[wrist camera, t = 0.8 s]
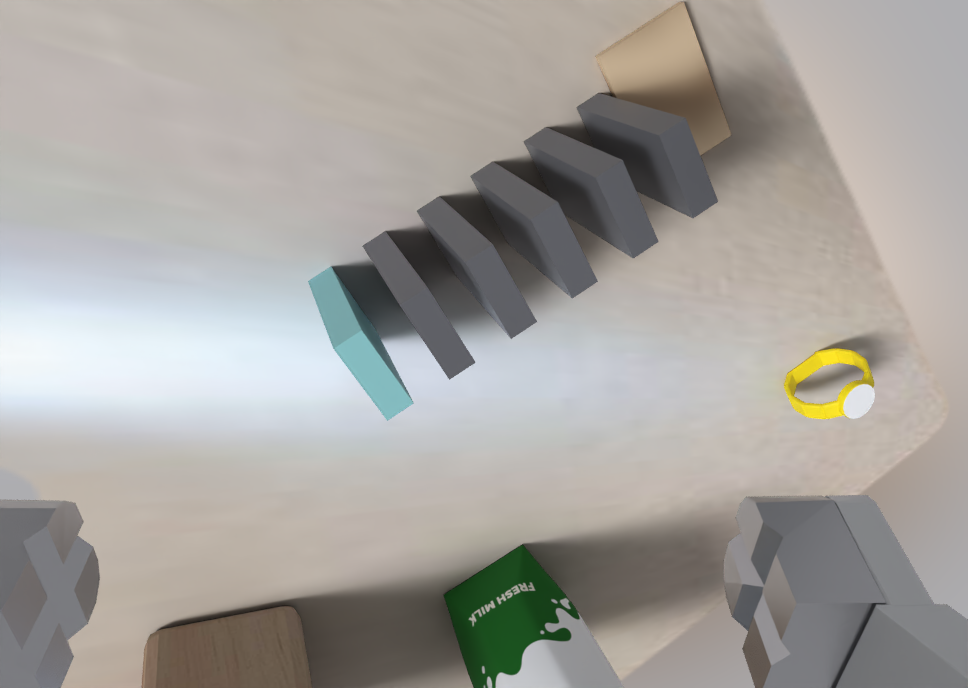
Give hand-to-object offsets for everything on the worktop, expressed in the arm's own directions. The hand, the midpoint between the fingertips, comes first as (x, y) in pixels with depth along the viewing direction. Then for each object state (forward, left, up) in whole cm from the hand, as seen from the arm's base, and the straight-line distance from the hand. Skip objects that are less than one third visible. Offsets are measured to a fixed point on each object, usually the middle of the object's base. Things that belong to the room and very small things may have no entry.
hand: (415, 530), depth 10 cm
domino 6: (+12, +17, -38) cm, 43 cm away
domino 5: (+12, +13, -38) cm, 42 cm away
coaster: (+12, +21, -38) cm, 45 cm away
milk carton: (+39, -5, -38) cm, 55 cm away
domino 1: (+12, -2, -38) cm, 40 cm away
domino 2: (+12, +2, -38) cm, 40 cm away
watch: (+37, +24, -38) cm, 59 cm away
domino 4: (+12, +9, -38) cm, 41 cm away
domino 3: (+12, +6, -38) cm, 40 cm away
